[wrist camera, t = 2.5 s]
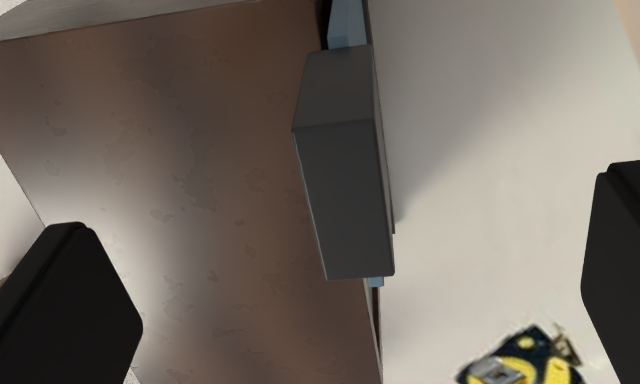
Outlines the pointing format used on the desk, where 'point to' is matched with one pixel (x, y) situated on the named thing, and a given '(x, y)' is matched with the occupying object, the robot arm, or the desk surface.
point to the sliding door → (345, 153)
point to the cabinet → (189, 179)
